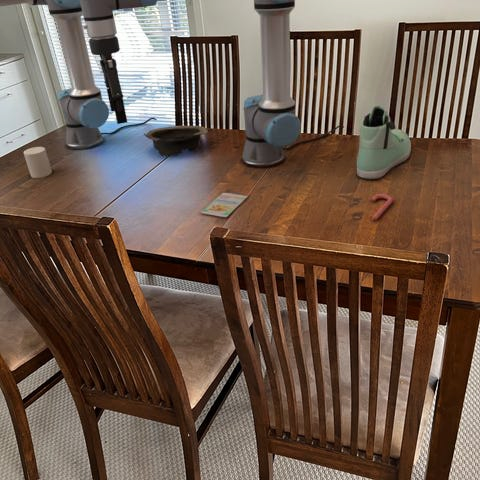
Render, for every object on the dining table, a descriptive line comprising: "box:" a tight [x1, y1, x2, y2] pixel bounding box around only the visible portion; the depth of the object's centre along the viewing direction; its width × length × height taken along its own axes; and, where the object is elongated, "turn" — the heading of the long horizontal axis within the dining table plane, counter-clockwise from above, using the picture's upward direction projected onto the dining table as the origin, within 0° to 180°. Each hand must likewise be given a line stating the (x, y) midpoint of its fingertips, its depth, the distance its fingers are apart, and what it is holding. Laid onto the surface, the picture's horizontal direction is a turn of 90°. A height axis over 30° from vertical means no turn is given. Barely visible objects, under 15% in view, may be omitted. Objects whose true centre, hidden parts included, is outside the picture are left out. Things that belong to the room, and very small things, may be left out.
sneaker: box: [356, 105, 412, 180], centre depth 161 cm, size 14×35×20 cm, turn 152°
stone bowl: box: [143, 125, 208, 157], centre depth 189 cm, size 25×25×9 cm
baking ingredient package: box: [199, 191, 249, 218], centre depth 146 cm, size 9×1×15 cm
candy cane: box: [371, 193, 394, 221], centre depth 137 cm, size 6×15×2 cm, turn 145°
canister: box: [23, 146, 53, 179], centre depth 176 cm, size 8×8×9 cm
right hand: (119, 116), depth 137 cm, fingers open, 13 cm apart
